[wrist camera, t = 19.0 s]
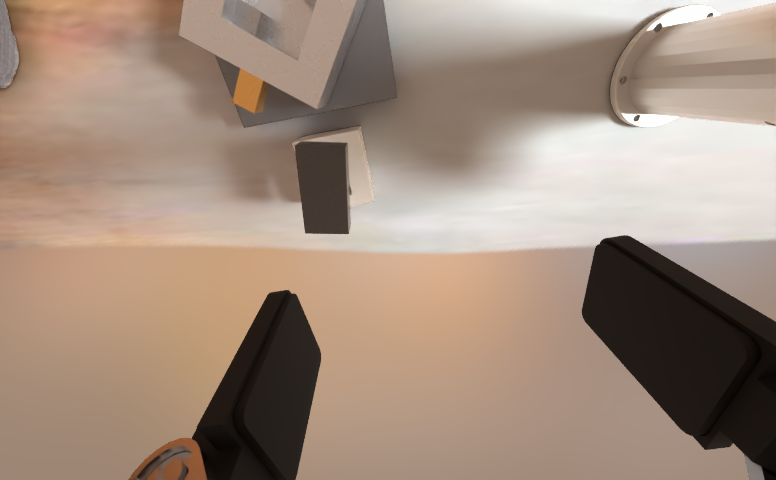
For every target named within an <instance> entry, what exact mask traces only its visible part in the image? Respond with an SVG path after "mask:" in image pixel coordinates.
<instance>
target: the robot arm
mask: <svg viewBox="0 0 776 480" xmlns="http://www.w3.org/2000/svg"><path fill="white" fill-rule="evenodd" d="M610 98H611V104H612V107H613V110H614V112H615V113H616V115H617V116H618V117H619V119H621V120H622V121H623V122H625V123H627V124H629V125H632V126H637V127H655V126H660V125H663V124H665V123H668V122H671V121H672V120H674V119H676V118H678V117H682V118H692V119H703V120H714V121H724V122H735V123H745V124H756V125H767V126H776V3H772V4H767V5H763V6H758V7H753V8H749V9H744V10H739V11H735V12H730V13H726V14H720V13H719V12H718V11H717V10H715V9H713V8H711V7H709V6H705V5H699V4H697V5H687V6H683V7H679V8H675V9H673V10H670V11H668V12H666V13H663V14H662V15H660V16H658V17H657V18H655V19H653V20H652V21H651V22H649V23H648V24H647V25H646V26H645V27H643V28H642V29H641V30H640V31H639V32H638V33H637V34H636V36H635V37H634V38H633V39H632V40H631V41H630V43H629V44H628V45H627V47H626V48H625V50H624V51H623V53H622V55H621V57H620V58H619V60H618V62H617V65H616V67H615V70H614V73H613V76H612V81H611V87H610ZM582 315H583V318H584V320H585V322H586V323H587V324H588V325H589V326H590V328H591V329H592V330H593V331H594V332H595V333H596V334H597V336H598V337H599V338H600V339H601V340H602V341H603V342H604V343H605V345H606V346H607V347H608V348H609V349H610V350H611V351H612V352H613V354H614V355H615V356H616V357H617V358H618V359H619V360H620V361H621V363H622V364H624V366H625V367H626V368H627V369H628V370H629V372H630V373H631V374H632V375H633V376H634V377H635V378H636V379H637V381H638V382H639V383H640V384H641V385H642V386H643V387H644V388H645V389H646V391H647V392H648V393H649V394H650V395H651V396H652V397H653V398H654V400H655V401H656V402H657V403H658V404H659V405H660V406H661V408H662V409H663V410H664V411H665V412H666V413H667V414H668V415H669V417H670V418H671V419H672V420H673V421H674V422H675V423H676V424H677V426H678V427H679V428H680V429H681V430H682V431H684V432H685V433H686V434H689V435H691V436H693V437H694V438H695V439H696V440H697V441H698V442H699V443H700V445H701V446H702V447H703V448H704V449H705V450H707V449H716V448H725V447H730V446H731V445H732V444H733V443H734V444H735V445H736V446H737V447H738V448H739V449H740V450H741V451H742V452H743V453H744V457H745V462H746V467H747V471H748V476H749V480H776V322H775V321H773V320H772V319H770V318H768V317H767V316H765V315H763V314H762V313H760V312H758V311H756V310H755V309H753V308H751V307H750V306H748V305H746V304H745V303H743V302H741V301H739V300H738V299H736V298H734V297H732V296H731V295H729V294H727V293H726V292H724V291H722V290H721V289H719V288H717V287H716V286H714V285H712V284H710V283H709V282H707V281H705V280H704V279H702V278H700V277H698V276H697V275H695V274H693V273H692V272H690V271H688V270H687V269H685V268H683V267H681V266H680V265H678V264H676V263H675V262H673V261H671V260H669V259H668V258H666V257H664V256H663V255H661V254H659V253H658V252H656V251H654V250H652V249H651V248H649V247H647V246H646V245H644V244H642V243H640V242H639V241H637V240H635V239H634V238H632V237H630V236H625V235H624V236H617V237H611V238H605V239H603V240H602V241H601V242H600V244H599V245H597V246H596V248H595V252H594V256H593V261H592V266H591V270H590V275H589V280H588V284H587V289H586V294H585V298H584V303H583V308H582ZM320 362H321V352H320V349H319V346H318V344H317V342H316V339H315V337H314V335H313V332H312V330H311V328H310V325H309V323H308V320H307V318H306V316H305V314H304V311H303V309H302V307H301V304H300V302H299V299H298V297H297V295H296V294H291V292H290V291H289V290H284V291H278V292H272V293H269V294H268V295H267V298H266V299H265V301H264V303H263V305H262V307H261V308H260V310H259V312H258V314H257V316H256V318H255V319H254V322H253V323H252V325H251V327H250V329H249V331H248V332H247V335H246V336H245V338H244V340H243V342H242V344H241V346H240V347H239V349H238V351H237V353H236V355H235V357H234V359H233V360H232V362H231V364H230V366H229V368H228V370H227V372H226V374H225V376H224V378H223V379H222V381H221V383H220V385H219V387H218V389H217V390H216V392H215V394H214V396H213V398H212V400H211V402H210V403H209V406H208V407H207V409H206V411H205V413H204V415H203V417H202V418H201V420H200V422H199V424H198V426H197V429H196V431H195V433H194V435H193V437H192V439H191V438H180V439H177V440H174V441H171V442H169V443H167V444H166V445H164V446H162V447H161V448H159V449H157V450H156V451H155V452H154V453H152V454H151V455H150V456H149V457H148V458H146V459H145V460H144V461H143V462H142V464H141V465H140V466H139V467H138V468H137V469H136V470H135V471H134V472H133V474H132V475H131V477H130V478H129V480H295V479H296V476H297V471H298V467H299V462H300V457H301V452H302V448H303V443H304V438H305V434H306V429H307V424H308V419H309V415H310V409H311V405H312V400H313V396H314V391H315V386H316V381H317V376H318V371H319V367H320Z"/></svg>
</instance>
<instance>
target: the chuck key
mask: <svg viewBox="0 0 776 480" xmlns="http://www.w3.org/2000/svg"><path fill="white" fill-rule="evenodd" d="M295 153H296V161H297V169H298V177H299V186H300V194H301V202H302V210H303V218H304V227H305V233H313V234H349V230H350V225H351V223H350V193H349V164H348V143H343V142H309V141H301V142H299V143H298V144H296V145H295Z"/></svg>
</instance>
